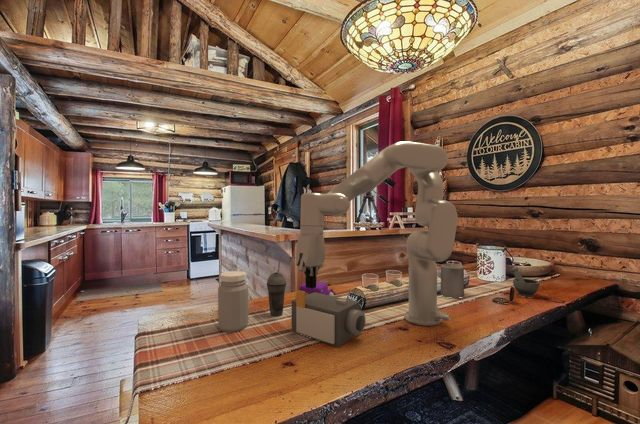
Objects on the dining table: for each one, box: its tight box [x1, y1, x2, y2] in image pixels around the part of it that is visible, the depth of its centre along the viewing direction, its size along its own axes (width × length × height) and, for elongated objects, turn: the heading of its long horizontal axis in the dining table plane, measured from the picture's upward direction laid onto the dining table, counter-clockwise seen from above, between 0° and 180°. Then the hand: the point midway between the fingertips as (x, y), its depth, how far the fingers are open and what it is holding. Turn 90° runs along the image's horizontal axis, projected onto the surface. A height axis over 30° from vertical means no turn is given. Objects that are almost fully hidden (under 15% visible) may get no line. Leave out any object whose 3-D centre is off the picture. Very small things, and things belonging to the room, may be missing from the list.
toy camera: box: [298, 280, 335, 297], centre depth 121 cm, size 11×14×10 cm
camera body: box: [291, 292, 366, 348], centre depth 95 cm, size 22×12×11 cm, turn 53°
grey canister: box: [440, 262, 465, 298], centre depth 136 cm, size 10×10×15 cm
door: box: [295, 289, 335, 344], centre depth 90 cm, size 14×1×13 cm, turn 53°
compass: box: [491, 285, 515, 305], centre depth 126 cm, size 8×8×7 cm
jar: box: [217, 270, 249, 333], centre depth 100 cm, size 10×10×18 cm
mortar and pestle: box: [511, 267, 540, 298], centre depth 136 cm, size 11×9×12 cm
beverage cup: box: [266, 260, 287, 318], centre depth 112 cm, size 7×7×20 cm
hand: (310, 287), depth 98 cm, fingers closed
